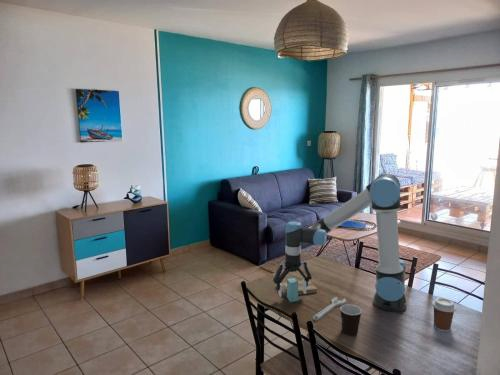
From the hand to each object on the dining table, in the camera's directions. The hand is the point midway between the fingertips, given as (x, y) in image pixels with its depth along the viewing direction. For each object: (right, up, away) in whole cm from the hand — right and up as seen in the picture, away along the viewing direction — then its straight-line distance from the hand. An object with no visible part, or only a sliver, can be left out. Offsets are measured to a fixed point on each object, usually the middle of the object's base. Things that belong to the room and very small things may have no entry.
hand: (292, 294), depth 182 cm
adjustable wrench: (+16, -5, -9) cm, 19 cm away
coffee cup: (+62, -7, -25) cm, 67 cm away
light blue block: (-1, -2, +3) cm, 4 cm away
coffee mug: (+22, -8, -26) cm, 35 cm away
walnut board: (+4, -1, +11) cm, 12 cm away
